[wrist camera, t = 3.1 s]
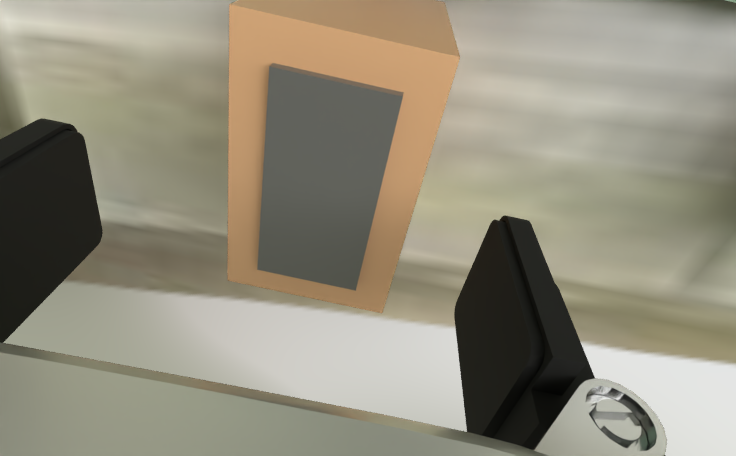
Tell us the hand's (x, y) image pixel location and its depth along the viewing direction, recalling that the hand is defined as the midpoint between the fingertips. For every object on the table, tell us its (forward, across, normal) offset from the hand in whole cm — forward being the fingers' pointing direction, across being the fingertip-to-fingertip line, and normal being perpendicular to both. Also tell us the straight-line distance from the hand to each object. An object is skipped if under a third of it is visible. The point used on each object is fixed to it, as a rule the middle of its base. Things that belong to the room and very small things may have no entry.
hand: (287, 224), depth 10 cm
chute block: (+10, -1, 0) cm, 10 cm away
